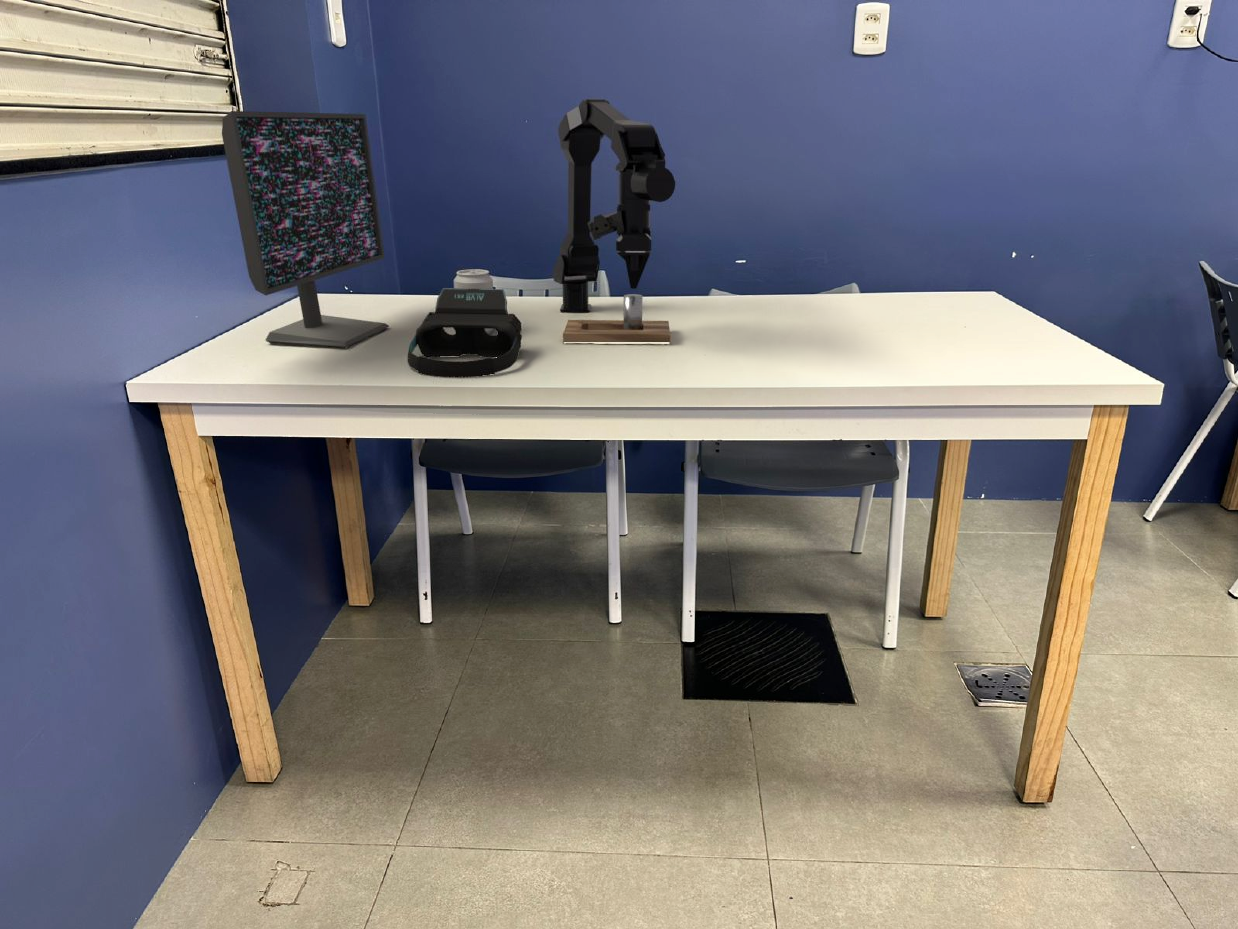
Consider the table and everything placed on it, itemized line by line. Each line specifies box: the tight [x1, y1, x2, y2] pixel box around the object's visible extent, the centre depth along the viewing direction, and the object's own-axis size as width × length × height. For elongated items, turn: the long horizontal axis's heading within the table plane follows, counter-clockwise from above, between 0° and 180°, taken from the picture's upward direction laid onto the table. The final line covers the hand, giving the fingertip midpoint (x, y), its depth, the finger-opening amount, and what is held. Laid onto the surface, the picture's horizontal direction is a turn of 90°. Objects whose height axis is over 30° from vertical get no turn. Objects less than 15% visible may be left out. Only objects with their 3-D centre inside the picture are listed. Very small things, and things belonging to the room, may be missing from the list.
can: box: [453, 268, 494, 335], centre depth 167 cm, size 8×8×12 cm
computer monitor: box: [221, 110, 390, 349], centre depth 158 cm, size 44×16×40 cm, turn 168°
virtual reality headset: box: [407, 287, 523, 378], centre depth 148 cm, size 19×22×10 cm
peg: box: [622, 293, 644, 330], centre depth 165 cm, size 4×4×8 cm
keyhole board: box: [562, 319, 671, 343], centre depth 166 cm, size 12×20×2 cm, turn 88°
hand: (633, 284), depth 162 cm, fingers open, 9 cm apart
